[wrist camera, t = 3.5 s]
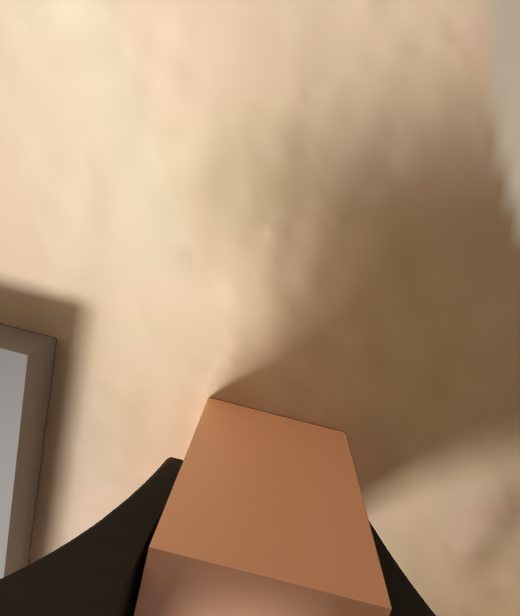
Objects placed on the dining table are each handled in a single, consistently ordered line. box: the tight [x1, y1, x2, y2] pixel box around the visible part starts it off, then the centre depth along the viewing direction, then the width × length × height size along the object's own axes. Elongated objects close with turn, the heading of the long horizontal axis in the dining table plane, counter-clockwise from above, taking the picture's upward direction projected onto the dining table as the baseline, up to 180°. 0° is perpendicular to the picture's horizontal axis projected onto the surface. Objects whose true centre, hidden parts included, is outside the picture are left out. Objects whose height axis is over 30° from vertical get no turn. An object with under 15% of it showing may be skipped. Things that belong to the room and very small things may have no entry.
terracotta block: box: [134, 398, 392, 616], centre depth 11 cm, size 5×5×6 cm
